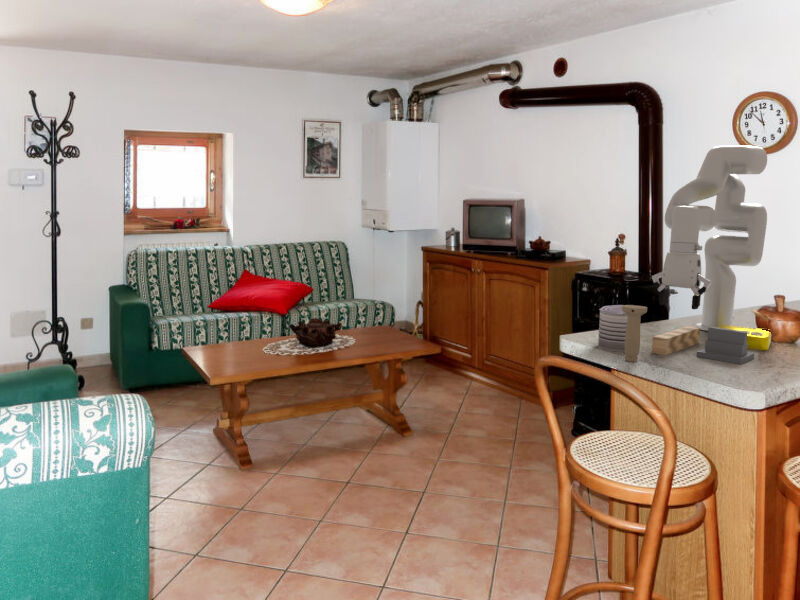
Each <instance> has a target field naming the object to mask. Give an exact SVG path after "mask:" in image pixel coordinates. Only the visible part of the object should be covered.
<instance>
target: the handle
mask: <svg viewBox="0 0 800 600" xmlns="http://www.w3.org/2000/svg"><path fill="white" fill-rule="evenodd" d="M622 305H623V306H622V311H623V312H625V313H626V314H627V317H628V319H627V328H626V335H625V352H624V354H625V355H624V361H625V362H629V363H636V362H637V361H638V358H639V354H640V353H639V352H640V348H641V319H642V318H641V317H642V316H643V315H644V314H647V312H648V307H647V306H643V305H634V304H625V305H624V304H622Z"/></svg>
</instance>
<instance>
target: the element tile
mask: <svg viewBox="0 0 800 600" xmlns="http://www.w3.org/2000/svg"><path fill="white" fill-rule="evenodd" d="M718 328H725V329H731V330H738V331H745V332H748V334H747V344H748V348H747V350H749V349H750V350H757V351H758V350H759V351H768V350H769V348H770V346H771V342H772V334H771V332H769V331H766V330H762V329H763V328H758V327H751V326H750V327H749V326H739V325H732V326H730V325H720V326H719V327H718Z"/></svg>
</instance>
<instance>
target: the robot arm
mask: <svg viewBox="0 0 800 600" xmlns="http://www.w3.org/2000/svg"><path fill="white" fill-rule="evenodd" d="M767 165H768V155H767V152H766V150H765V149H764V147H762V146H761V147H760V146H754V145H719V146H714V147H712V148H711V149H709V151H707V153H706V154H705V157H704V160H703V161H702V165H701V167H700V169H699V171H698V173H697V175H696V178H694V179H693V180H691V181H689V182H687V184H685V185H683V186H681V188H679V189H678V190H677V191H675V193H674V194H673V195H672V197H671V198H670V200H669V203H668V205H667V206H666V210H665V213H664V224H665V226H666V227H667V228H669V229H670V238H669V239H670V240H669V242H670V243H669V250H668V251H669V252H667V253H666V256H665V259H664V262H663V269H662V271H660V272H657V273H656V274H654V275H651V279H652V281H653V285H654V286H655V288H656V289H657V291H658V305H659V306H664V305H666V304H667V298H668V297H667V296H668V291H667V289H668V288H669V287H673V288H682V289H690V290H691V291H692V292H693V294H694V295H692V298H691V299H692V300H691V309H692V310H698V309H699V308H700V307H701V297H702V295H703V300H702V309H701V310H702V311H701V322H698V323H696V324H695V325H696V326H695V327H697V328H700V331H705V332H708V327H719V326H720V325H730V326H733V322H734V320H735V316H734V310H735V309H734V308H735V299H736V298H735V295H736V294H735V293H736V285H737V277H736V275H735V272H734V271H733V269H732V268H731V266H736V267H737V266H739V267H740V266H741V267H756V266H758V265H759V264H760V263H761V261H762V257H763V253H764V246H765V239H766V231H767V225H768V223H767V222H768V213H767V209H766V207H765V206H764V205H762V204H760V203H745V196H746V186H745V184H744V183H743V181H742V179H741V178H740V177H739V176H738V175H760V174H762V173H763V172H764V170H765V169H766V167H767ZM715 196H716V198H715V207H714V208H712V207H711V206H709V205H694V203H697V202H699V201H700V202H701V201H703V200H708V199H710V198H713V197H715ZM692 204H693V205H692ZM713 228H715V229H716V230H717V231H721V232H727V233H741V234H742V233H746V234H748V236H741V235H739V236H736V235H725V234H724V235H719V234H718V235H714V236H711V237H709V238H708V239H706V241H705V244H704V259H705V273H704V274H705V275H704V276H703V275H702V260H701V254H699V253H698V252H699V251H702V250H703V246H702V245H700V244H699V234H700V232H708V231H710V230H712V229H713ZM660 278H661V282H660V280H659V279H660ZM702 283H703V285H702V287H701V284H702ZM700 287H701V288H700Z"/></svg>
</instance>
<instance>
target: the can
mask: <svg viewBox="0 0 800 600" xmlns="http://www.w3.org/2000/svg"><path fill="white" fill-rule="evenodd" d="M623 305H624V304H614V305H604V306H602V307H601V308H599V309H598V310H599V325H598V326H599V327H598V338H597V341H598V342H597V346H598V347H599V349H602V348H603V349H602V350H605V349H606V351H610V352H624V353H625V335H626V328H627V319H628V317H627V314H626V313H625V312H623V311H622V306H623Z"/></svg>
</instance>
